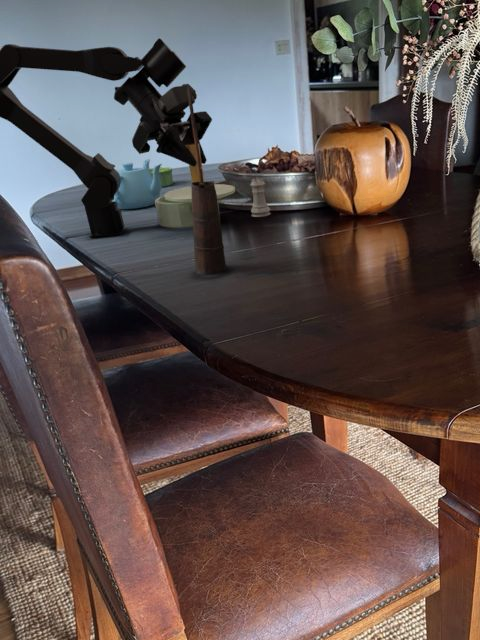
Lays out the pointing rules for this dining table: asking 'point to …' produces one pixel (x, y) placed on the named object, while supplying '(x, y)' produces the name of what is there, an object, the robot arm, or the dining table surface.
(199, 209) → the butter churn
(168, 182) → the ramekin
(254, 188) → the rook chess piece
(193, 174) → the lid
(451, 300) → the dining table surface
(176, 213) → the pan
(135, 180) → the teapot
